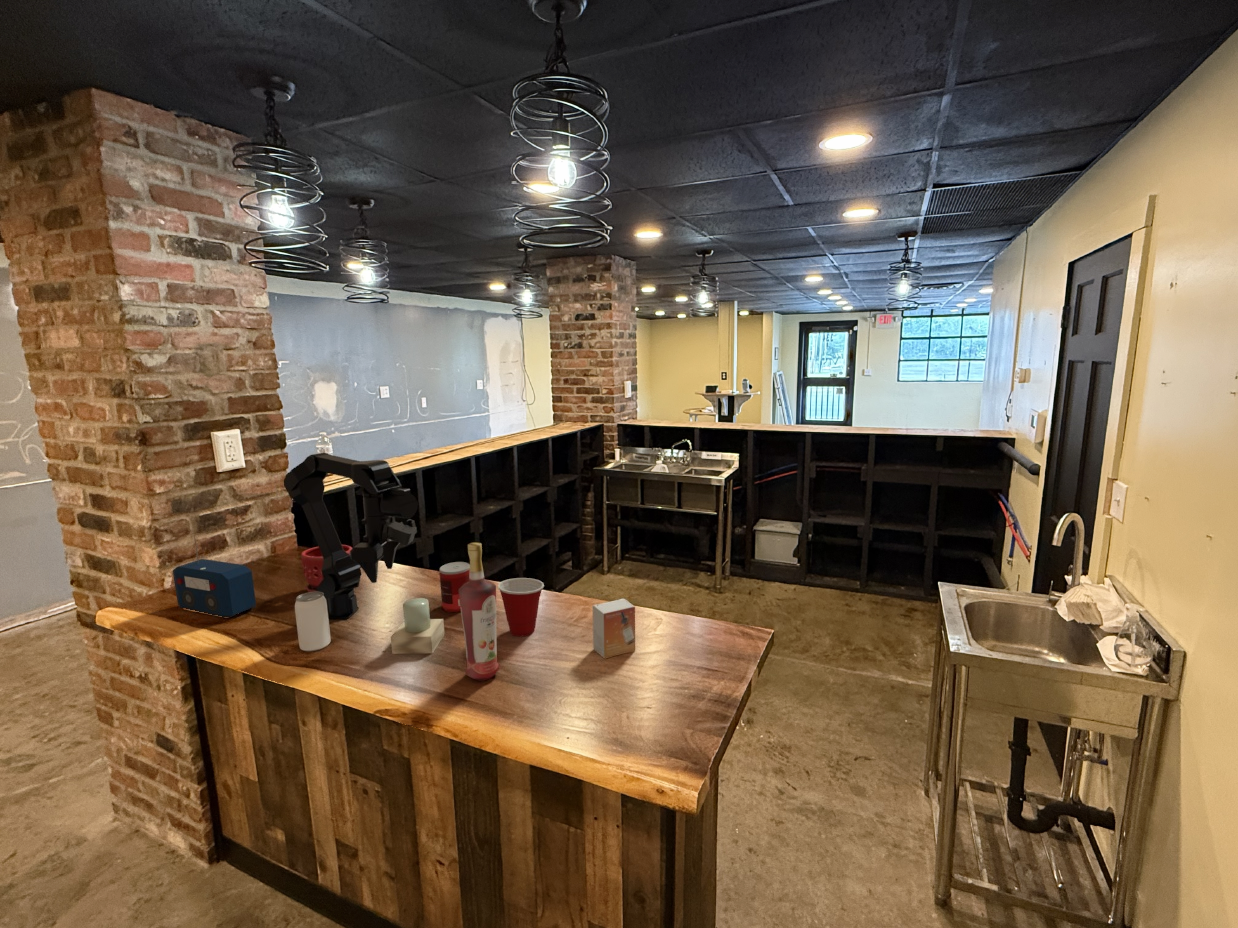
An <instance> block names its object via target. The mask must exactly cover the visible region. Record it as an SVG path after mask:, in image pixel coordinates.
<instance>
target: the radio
mask: <svg viewBox="0 0 1238 928" xmlns="http://www.w3.org/2000/svg"><path fill="white" fill-rule="evenodd" d="M193 539H194V546H195V551H196V559H197V560H194V561H191V562H188V563H184V564H181V565H178V566H177V567H175V568H173V569H172V576H173V583H174V587H175V595H176V602H177V605H178V607H180V608H181V609H182V608H186V609H190V610H195V611H199V612H204V613H208V614H212V615H218V616H222V617H230V618H232V617H231V616H233V617H235V616H237V615H239V614H238V613H240V614H242V613H244V612H246V610H247V611H249V610H251V609H253V608H254V607H256V606H257V601H256V595H255V586H254V579H253V578H254V577H253V571H252V569H250V568H249V567H248V566H246V564H245V565H244V564H239V563H233V562H225V561H220V560H212V559H207V558H201V559H200V558H199V553H198V546H197V540H196V536H195V535H193ZM250 608H251V609H250ZM248 609H249V610H248ZM243 611H244V612H243ZM241 612H242V613H241ZM236 614H237V615H236ZM234 615H235V616H234Z"/></svg>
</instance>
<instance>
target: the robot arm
mask: <svg viewBox="0 0 1238 928" xmlns="http://www.w3.org/2000/svg"><path fill="white" fill-rule="evenodd" d="M389 464H390V463H389V462H388V461H386V460H384V459H374V460H373V459H372V460H361V461H360V460H355V459H352V458H346V457H342V456H337V455H332V454H330V453H329V452H328V453H327V452H320V453H319V452H318V453H313V454H310V455H309V456H307V457H305V459H304V460H303V461H302V462H300V463H299V464H297V465H296V466H295V467H293V468H291V470H290V471H289V472H287V473H286V475H285V477H284V479H283V486H284V488H285V490H286V493H287V494H288V496H289V497H290V498H291V500H293V501H294V502H296V503H297V504H298V505H299V506H301V508H302V510H303V512H304V515H305V517H306V519H307V521H308V524H309V526H310V529H311V531H312V534H313V536H314V539H315V541H316V544H317V547H319V549H320V551H321V553H322V556H323V559H324V560H323V565H322V570H321V571H322V575H323V580H322V581H321V583H320V584H319V585H318V587H317V588H316V589H317V592H322V593H323V594H324V595H323V596H324V597H325V599H326V602H327V610H328V619H329V620H345V619H346V620H347V619H350V618H351V617H352V615H354V614H355V613H356V612H357V611H358V610H359V609H360V607H359V606H358V602H357V601H358V600H357V595H356V594H355V589H356V588H359V587H360V581H361V577H362V571H363V572H364V574H365V575H366V577H367V578H368V580H369V581H370V582H371V583H373V584H376V583H377V581H378V574H379V570H378V568H379V561H381V560H382V559H383V562H384V565H385V567H386V569H388V570H391V569H393V566H394V561H395V558H396V557H395V556H396V552H397V549H398V546H399V545H403V546H408V545H410V544H411V542H413V541H414V538H415V535H416V534H417V533H418V530H417V526H416V523H415V520H413V519H411V518H413V517H414V516H415V515H416V513H417V511H418V506H419V502H418V500H417V498H416V497H415V495H414V494H412V493H411V489H410V488H403V486H402V485H403V484H401V482H400V479H398V476H396V474H395V472H394V471H393V468H392V467H391V466H390V465H389ZM329 474H331V475H334V476H340V477H343V478H347V479H350V480H351V481H352V482H353V484H354V485H357V486H359V489H358V490H357V491H355V494H356V495H359V496H362V500H363V501H362V504H363V514H364V515H363V516H364V518H363V519H361V525H364V526H365V527H364V528H365V535H364V536H362V541H363V542H359V543H358V544H356V545H355V546H353V547H352V549H351V551H350V555H349V554H348V553H347V552H345V551H344V549H343V547H342V545H343V544H342V543H341V541H340V538H339V535H338V533H337V530H336V529H335V526H334V524H333V521H332V519H331V516H330V514H329V512H328V509H327V506H326V503H325V501H324V499H323V497H324V493H325V487H326V486H325V483H324V480H325V479H326V478H327V477H328V475H329ZM396 518H401V519H407V520H405V521H404V522H403V521H401V522H398V521H396ZM361 570H362V571H361Z"/></svg>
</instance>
